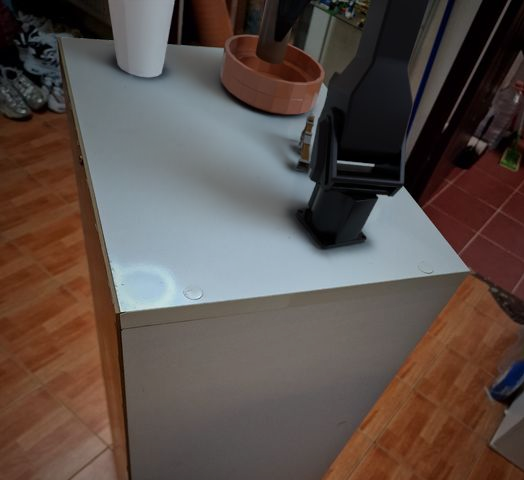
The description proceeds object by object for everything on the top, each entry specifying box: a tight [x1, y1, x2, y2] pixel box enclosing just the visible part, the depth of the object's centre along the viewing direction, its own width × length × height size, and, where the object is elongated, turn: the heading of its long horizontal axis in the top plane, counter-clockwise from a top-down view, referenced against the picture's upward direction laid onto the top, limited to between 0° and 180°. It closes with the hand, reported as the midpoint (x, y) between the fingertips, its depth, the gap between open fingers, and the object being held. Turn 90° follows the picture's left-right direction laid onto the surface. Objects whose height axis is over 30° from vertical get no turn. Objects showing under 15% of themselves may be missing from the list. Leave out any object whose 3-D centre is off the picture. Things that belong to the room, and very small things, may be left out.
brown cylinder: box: [255, 0, 293, 64], centre depth 62 cm, size 4×4×9 cm
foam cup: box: [107, 0, 176, 78], centre depth 58 cm, size 10×9×13 cm
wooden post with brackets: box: [295, 112, 316, 173], centre depth 58 cm, size 2×8×4 cm, turn 177°
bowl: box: [219, 34, 326, 115], centre depth 66 cm, size 15×15×5 cm
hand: (275, 34), depth 63 cm, fingers closed on brown cylinder, 4 cm apart
